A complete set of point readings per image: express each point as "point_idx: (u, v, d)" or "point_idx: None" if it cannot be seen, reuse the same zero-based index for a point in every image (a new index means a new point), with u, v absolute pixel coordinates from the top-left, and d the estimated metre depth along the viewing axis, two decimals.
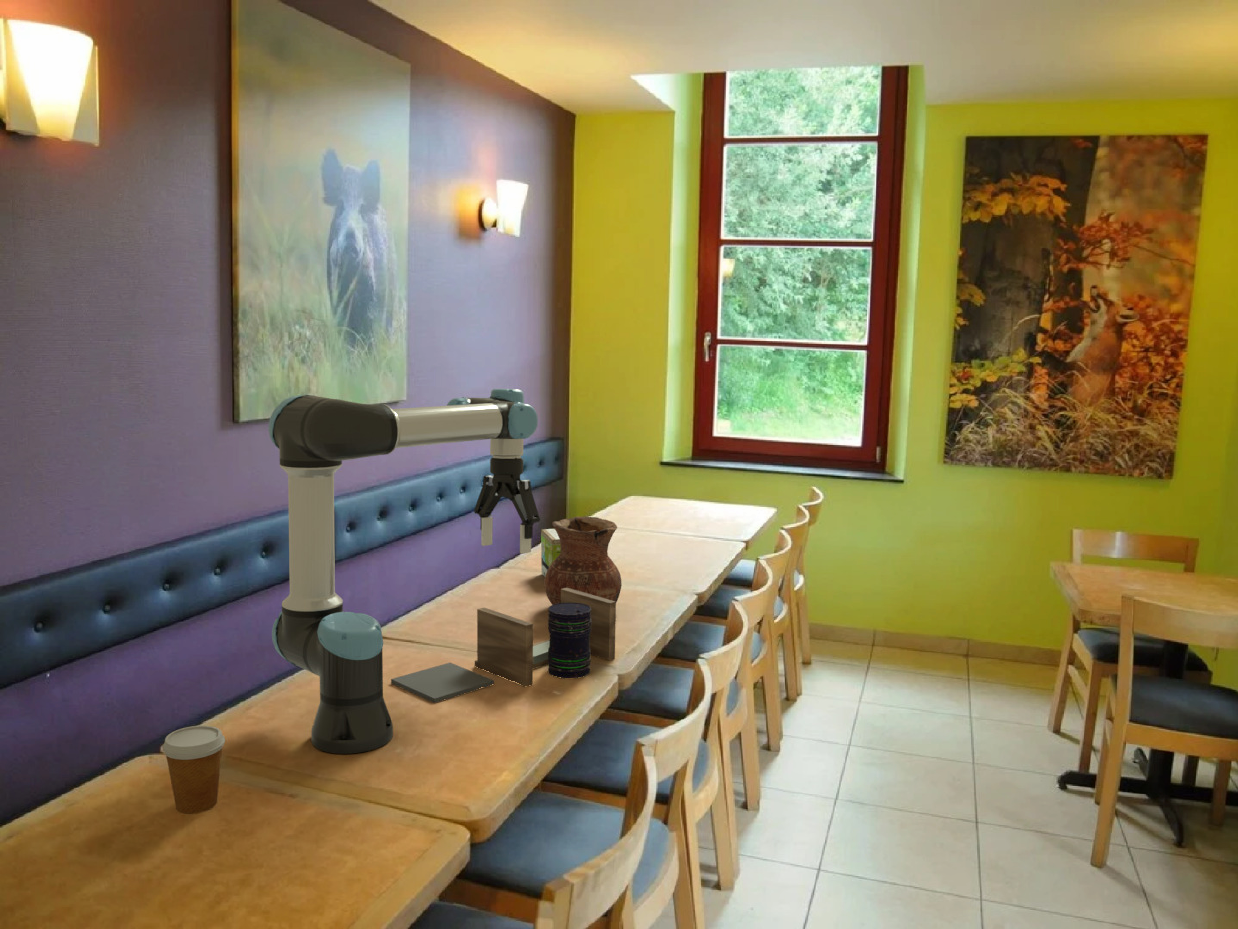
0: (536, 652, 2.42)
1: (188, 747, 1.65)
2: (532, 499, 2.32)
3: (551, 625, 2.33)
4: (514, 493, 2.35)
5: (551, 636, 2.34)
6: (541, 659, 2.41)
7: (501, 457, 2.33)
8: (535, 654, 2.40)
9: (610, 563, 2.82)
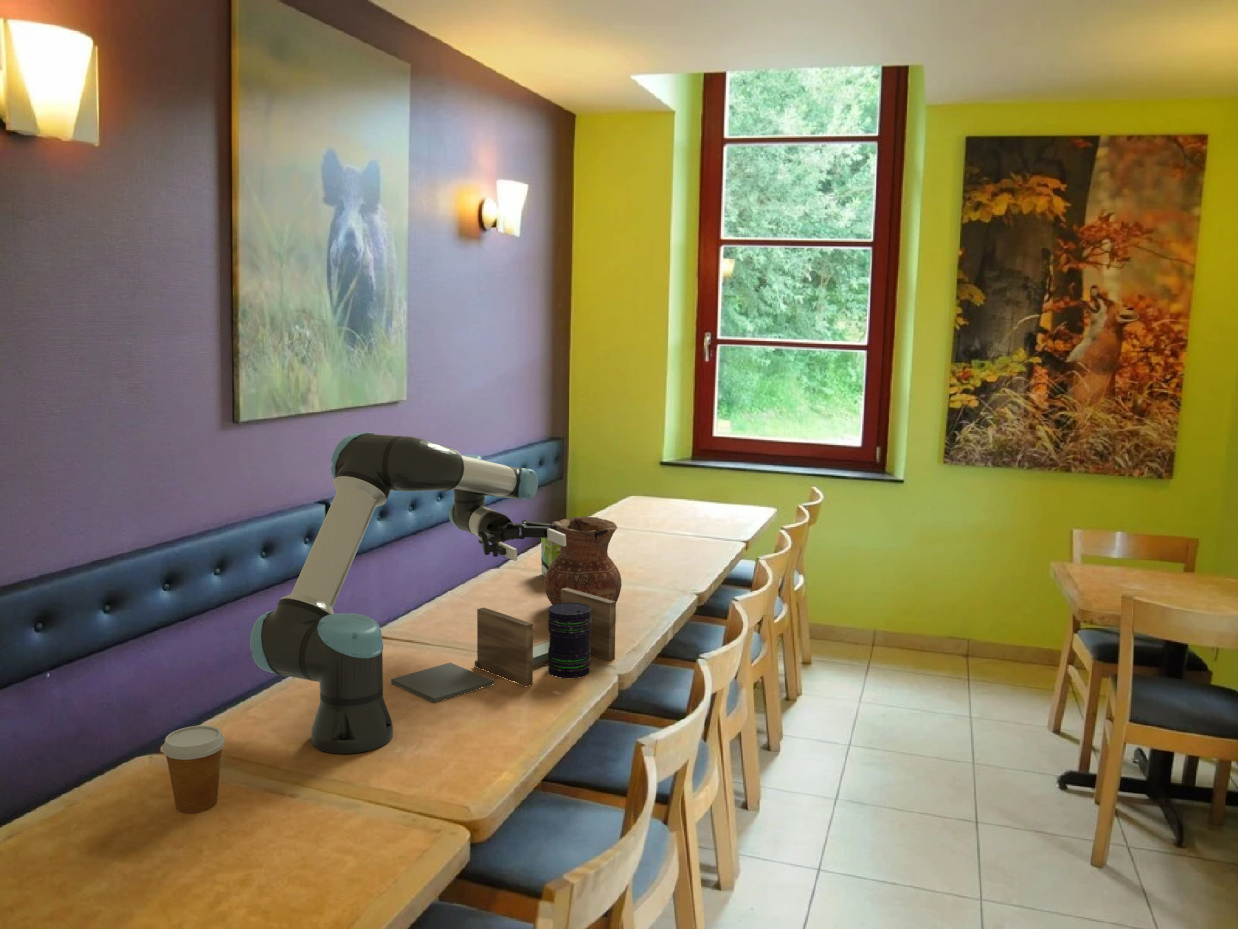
0: (536, 653, 2.42)
1: (188, 747, 1.65)
2: None
3: (551, 625, 2.33)
4: (519, 531, 2.48)
5: (551, 636, 2.34)
6: (540, 660, 2.41)
7: None
8: (534, 655, 2.40)
9: (610, 563, 2.82)
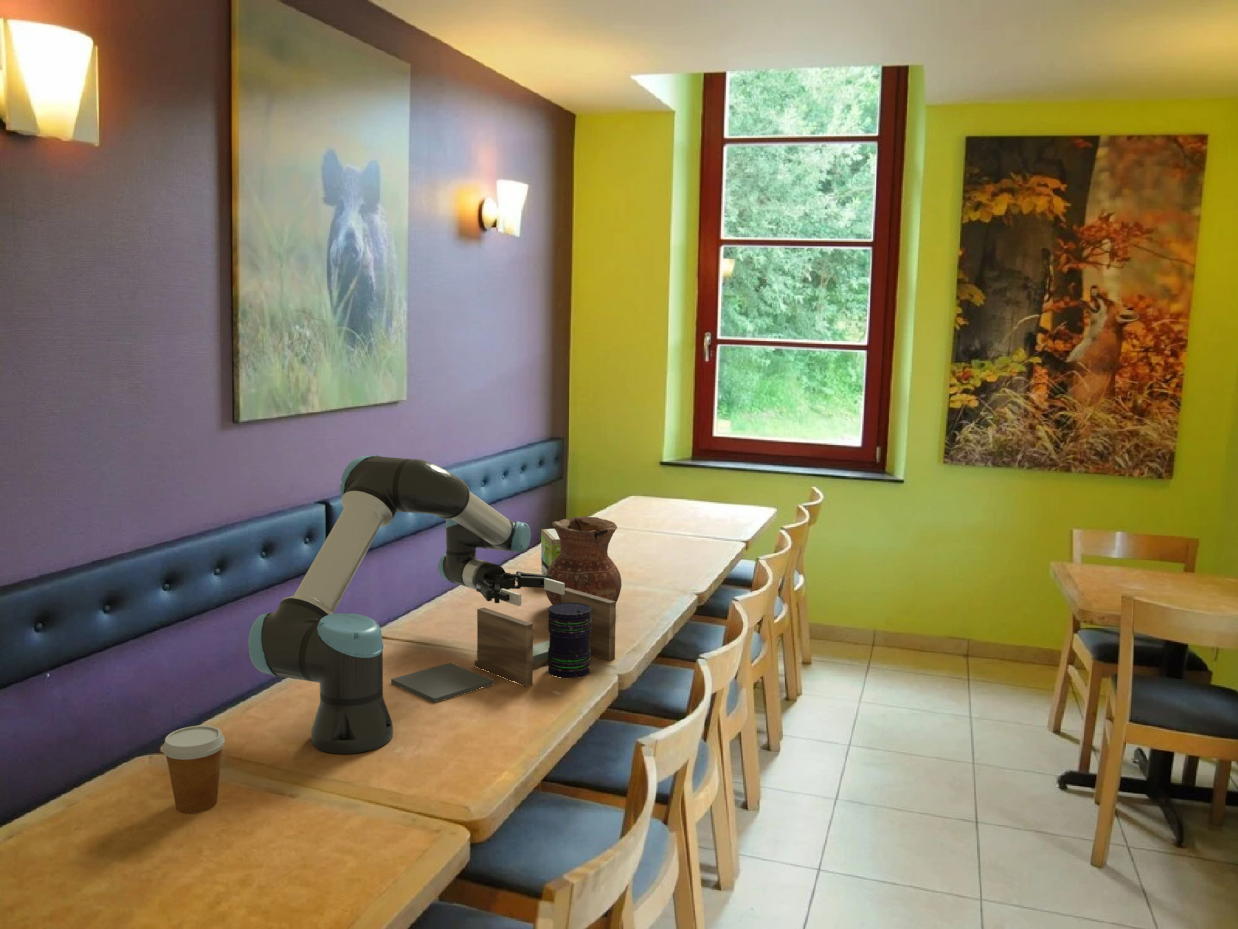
0: (535, 652, 2.42)
1: (188, 747, 1.65)
2: None
3: (551, 625, 2.33)
4: None
5: (551, 636, 2.34)
6: (539, 659, 2.41)
7: None
8: (533, 654, 2.40)
9: (610, 563, 2.82)
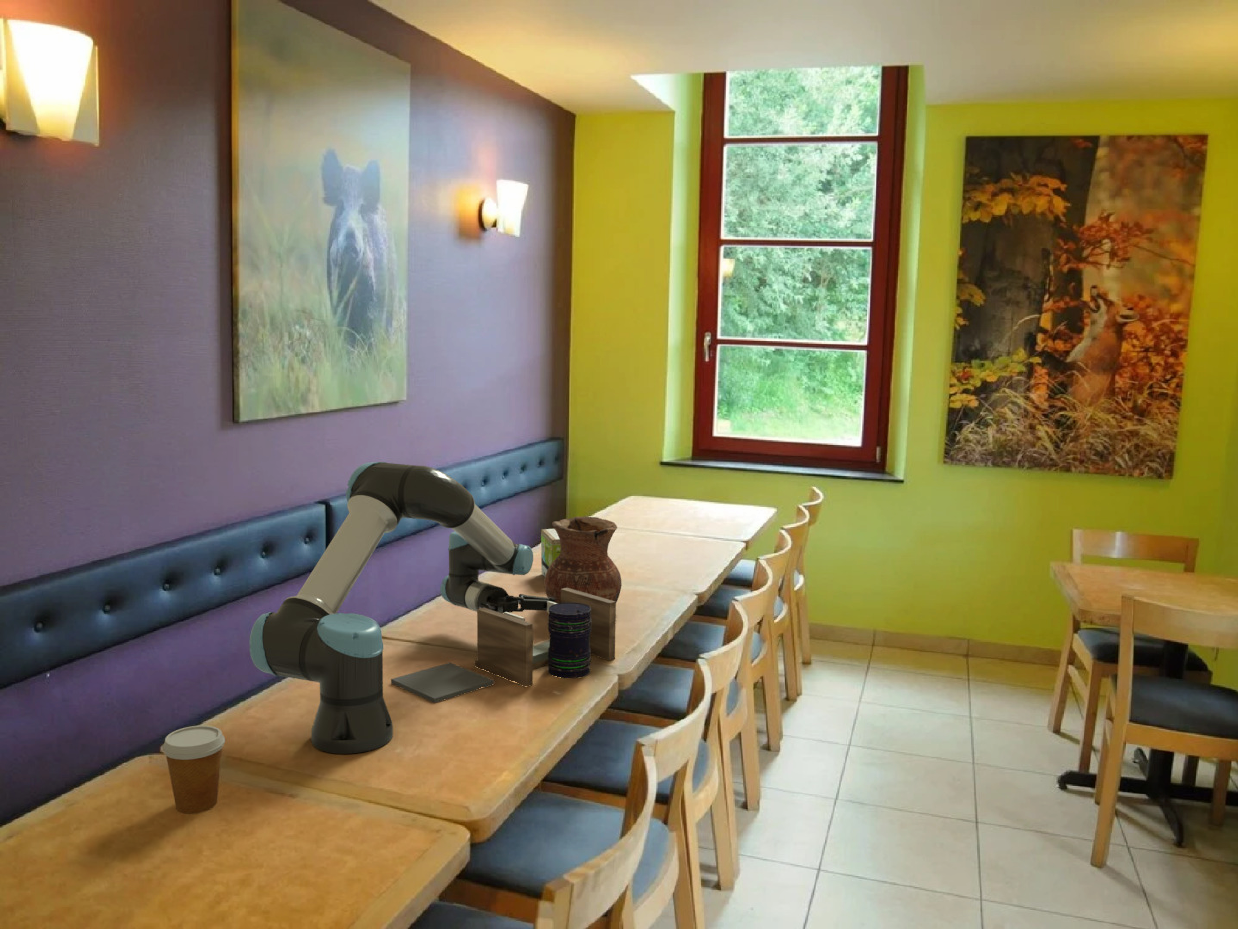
0: (534, 653, 2.41)
1: (188, 747, 1.65)
2: None
3: (551, 625, 2.33)
4: None
5: (551, 636, 2.34)
6: (539, 659, 2.41)
7: None
8: (533, 654, 2.40)
9: (610, 563, 2.82)
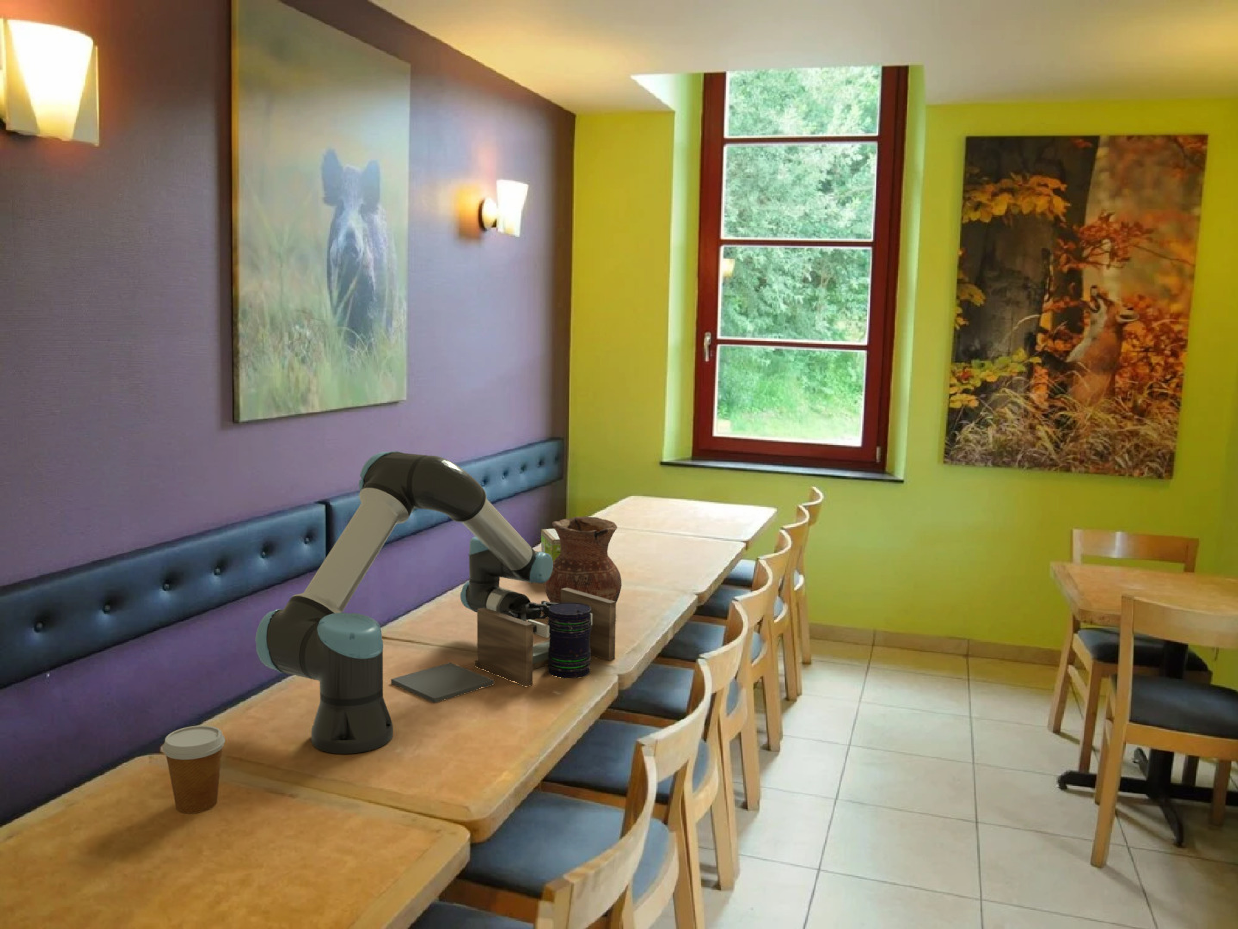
0: (535, 652, 2.41)
1: (188, 747, 1.65)
2: None
3: (551, 625, 2.33)
4: None
5: (551, 636, 2.34)
6: (540, 659, 2.41)
7: None
8: (534, 654, 2.40)
9: (610, 563, 2.82)
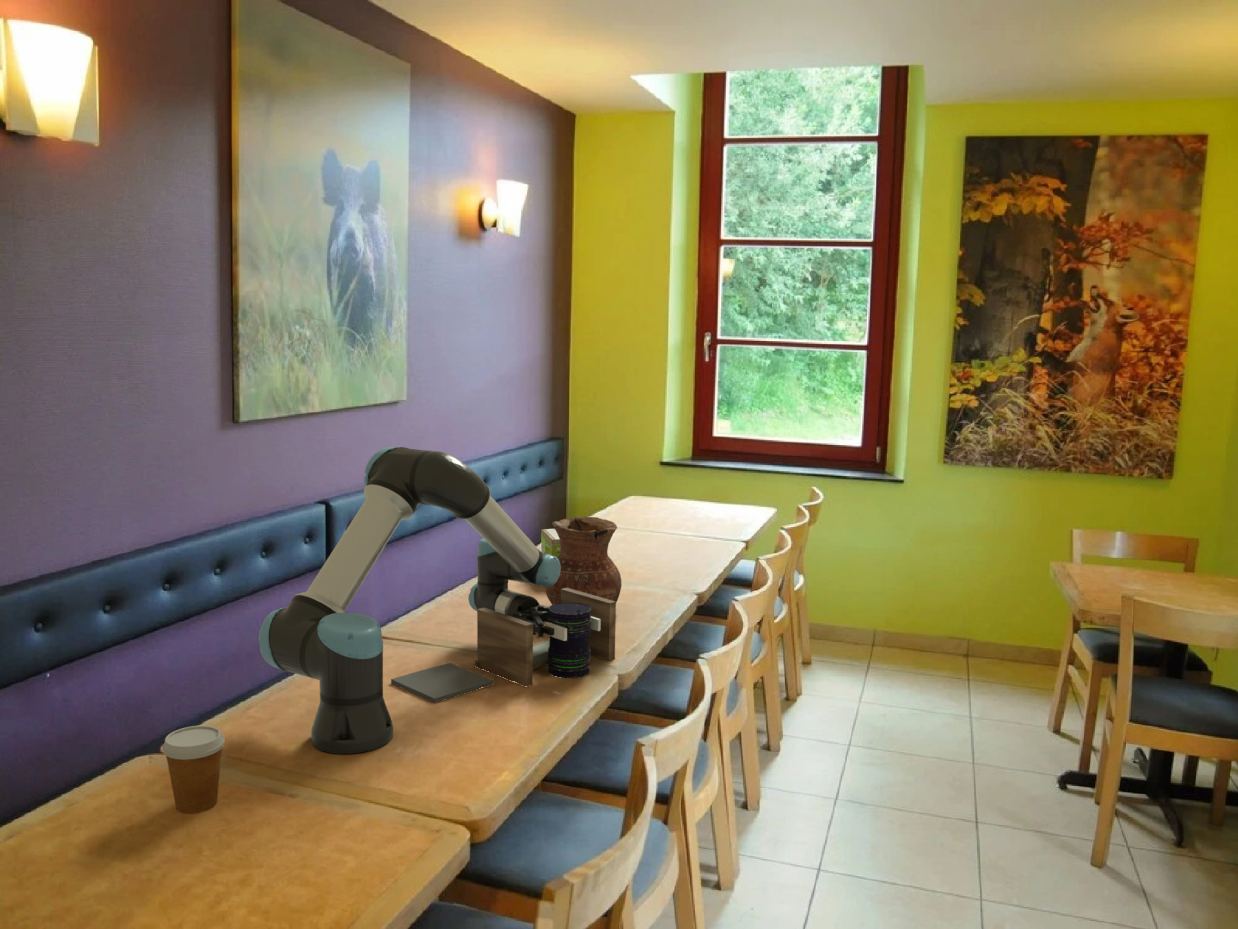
0: (534, 653, 2.41)
1: (188, 747, 1.65)
2: None
3: None
4: None
5: None
6: (539, 659, 2.41)
7: None
8: (533, 654, 2.40)
9: (610, 563, 2.82)
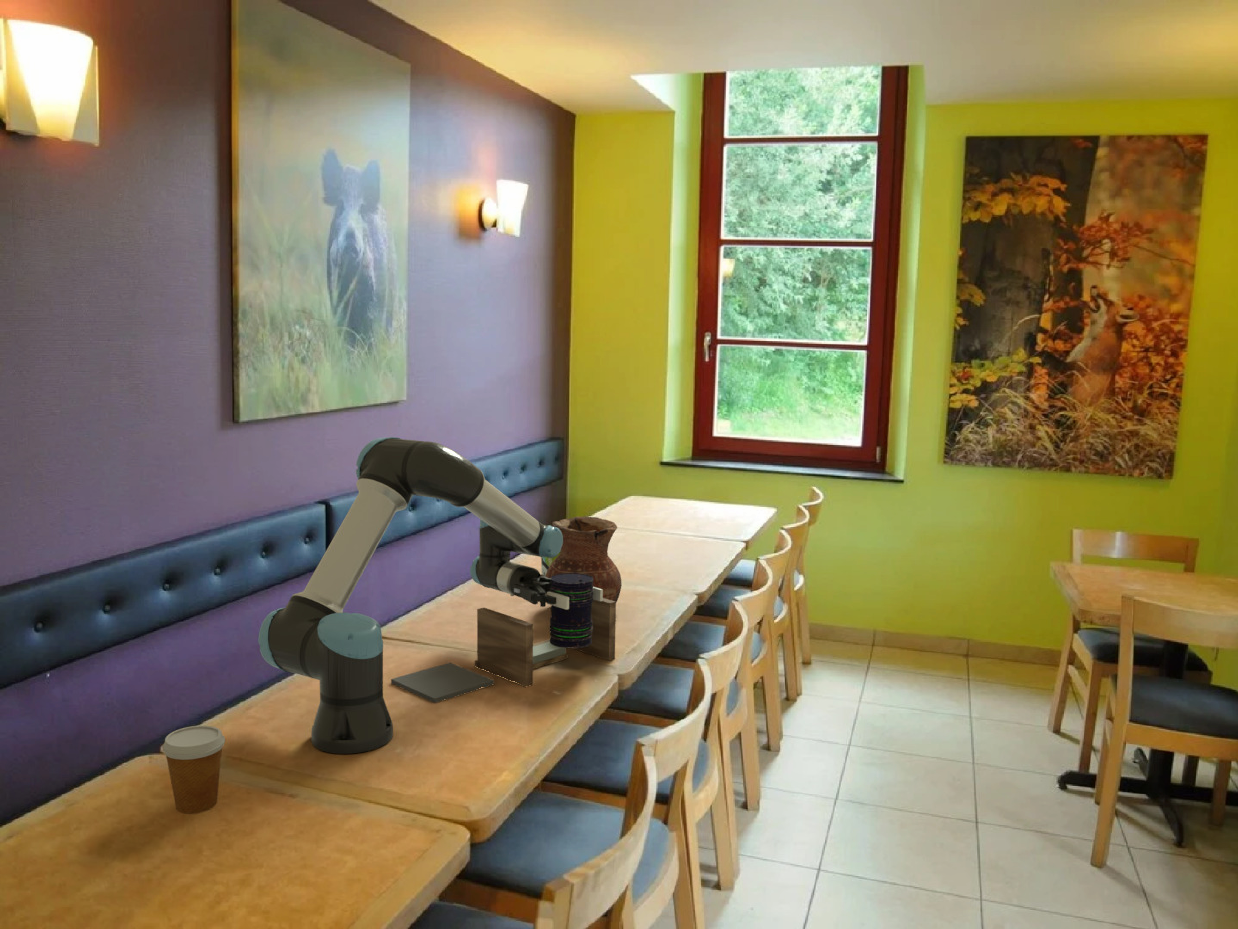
0: (534, 653, 2.41)
1: (188, 747, 1.65)
2: None
3: None
4: None
5: None
6: (539, 660, 2.41)
7: None
8: (533, 654, 2.40)
9: (610, 563, 2.82)
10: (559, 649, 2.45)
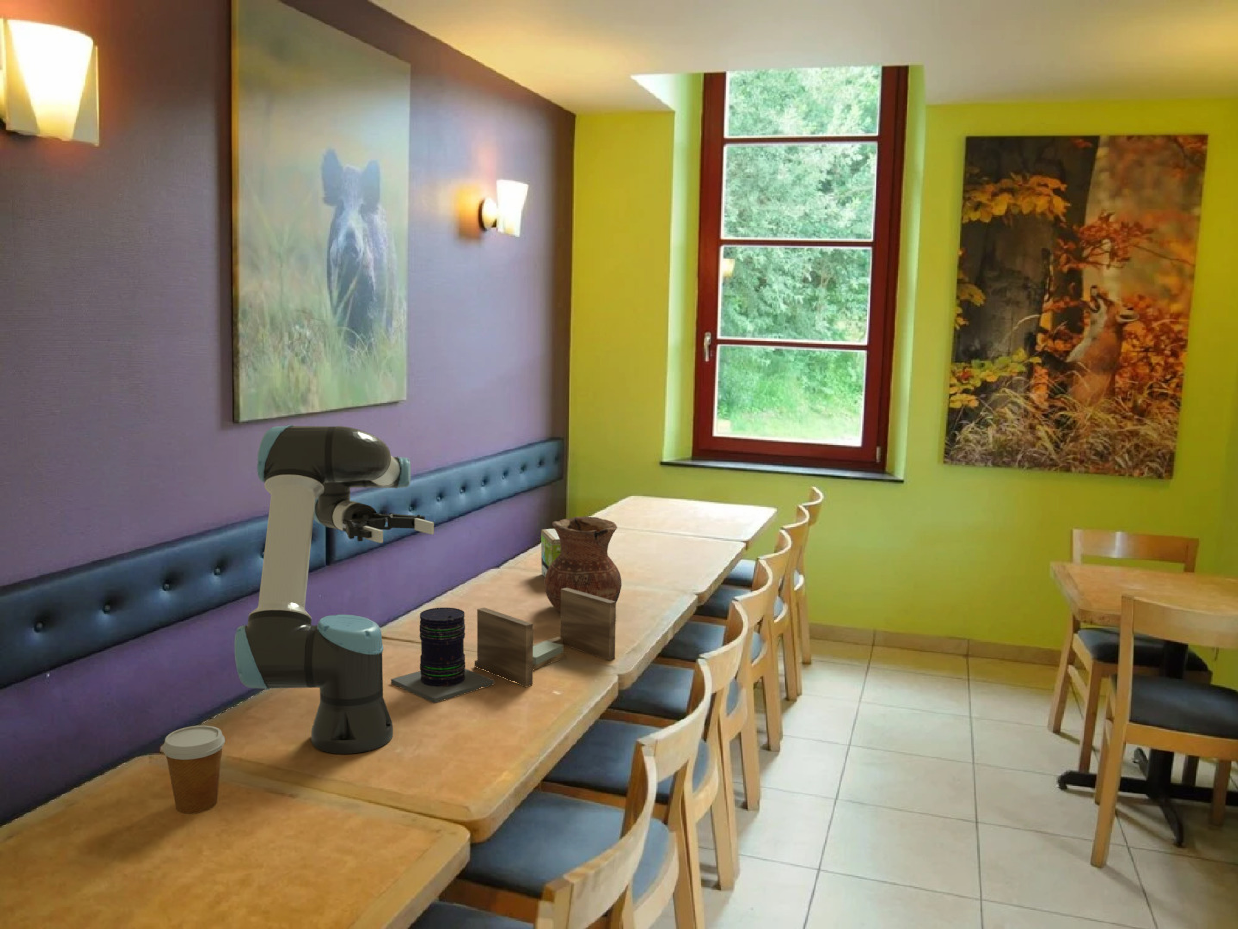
0: (537, 653, 2.41)
1: (188, 747, 1.65)
2: None
3: (421, 631, 2.24)
4: (385, 522, 2.43)
5: (422, 643, 2.25)
6: (542, 660, 2.41)
7: None
8: (536, 655, 2.40)
9: (610, 563, 2.82)
10: (558, 648, 2.46)
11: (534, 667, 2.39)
